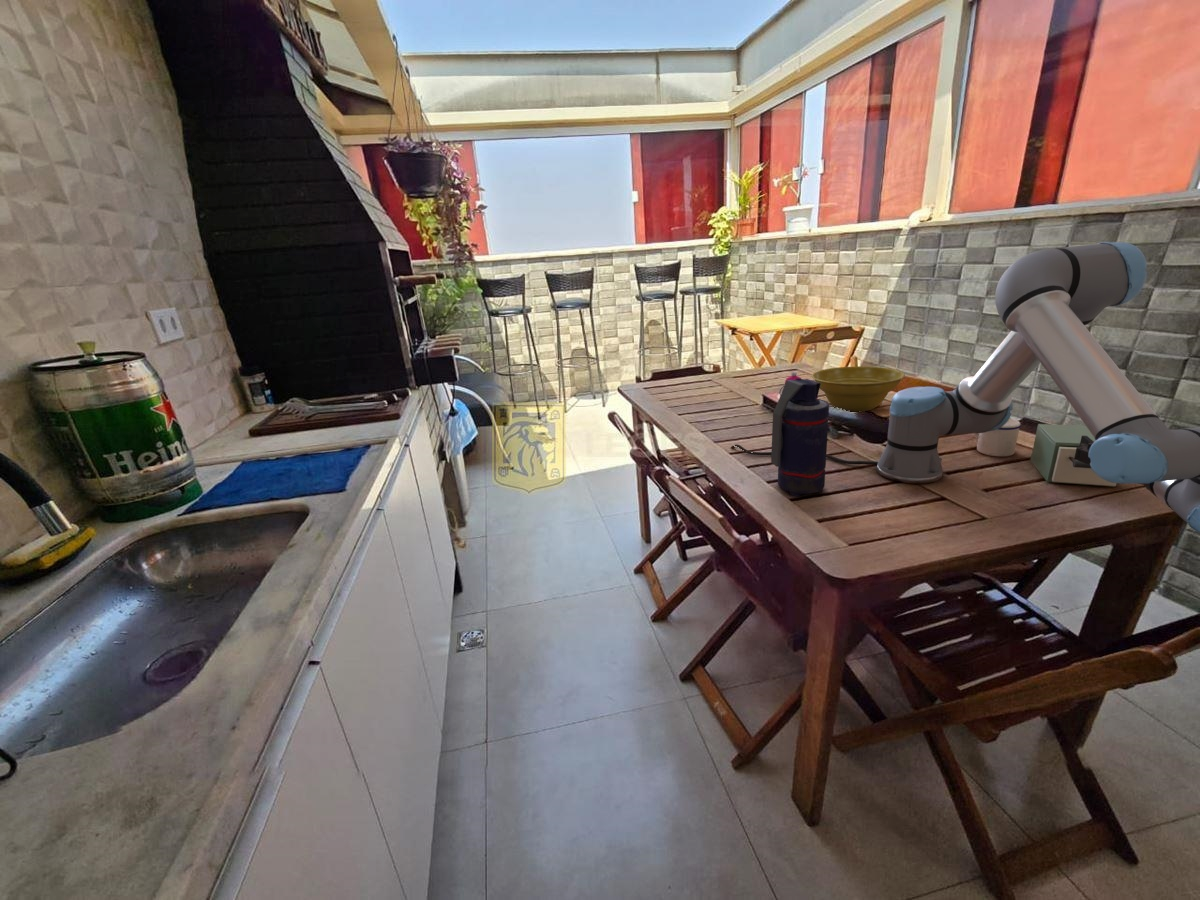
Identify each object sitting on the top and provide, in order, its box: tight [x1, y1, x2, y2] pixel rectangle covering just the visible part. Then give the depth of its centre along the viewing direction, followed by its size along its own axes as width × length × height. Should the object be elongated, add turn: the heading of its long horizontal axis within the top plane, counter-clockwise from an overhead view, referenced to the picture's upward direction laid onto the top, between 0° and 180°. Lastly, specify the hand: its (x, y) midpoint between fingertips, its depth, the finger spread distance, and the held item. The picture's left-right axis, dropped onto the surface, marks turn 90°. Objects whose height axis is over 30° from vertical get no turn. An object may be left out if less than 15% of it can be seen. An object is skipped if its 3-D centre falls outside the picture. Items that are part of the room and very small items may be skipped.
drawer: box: [1052, 446, 1118, 487], centre depth 120 cm, size 18×11×9 cm, turn 154°
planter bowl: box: [811, 365, 906, 412], centre depth 192 cm, size 32×32×13 cm
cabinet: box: [1029, 423, 1116, 488], centre depth 124 cm, size 15×13×11 cm
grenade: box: [770, 378, 830, 497], centre depth 128 cm, size 14×12×30 cm
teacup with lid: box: [972, 417, 1022, 457], centre depth 141 cm, size 12×9×12 cm
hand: (1126, 443), depth 101 cm, fingers open, 13 cm apart
